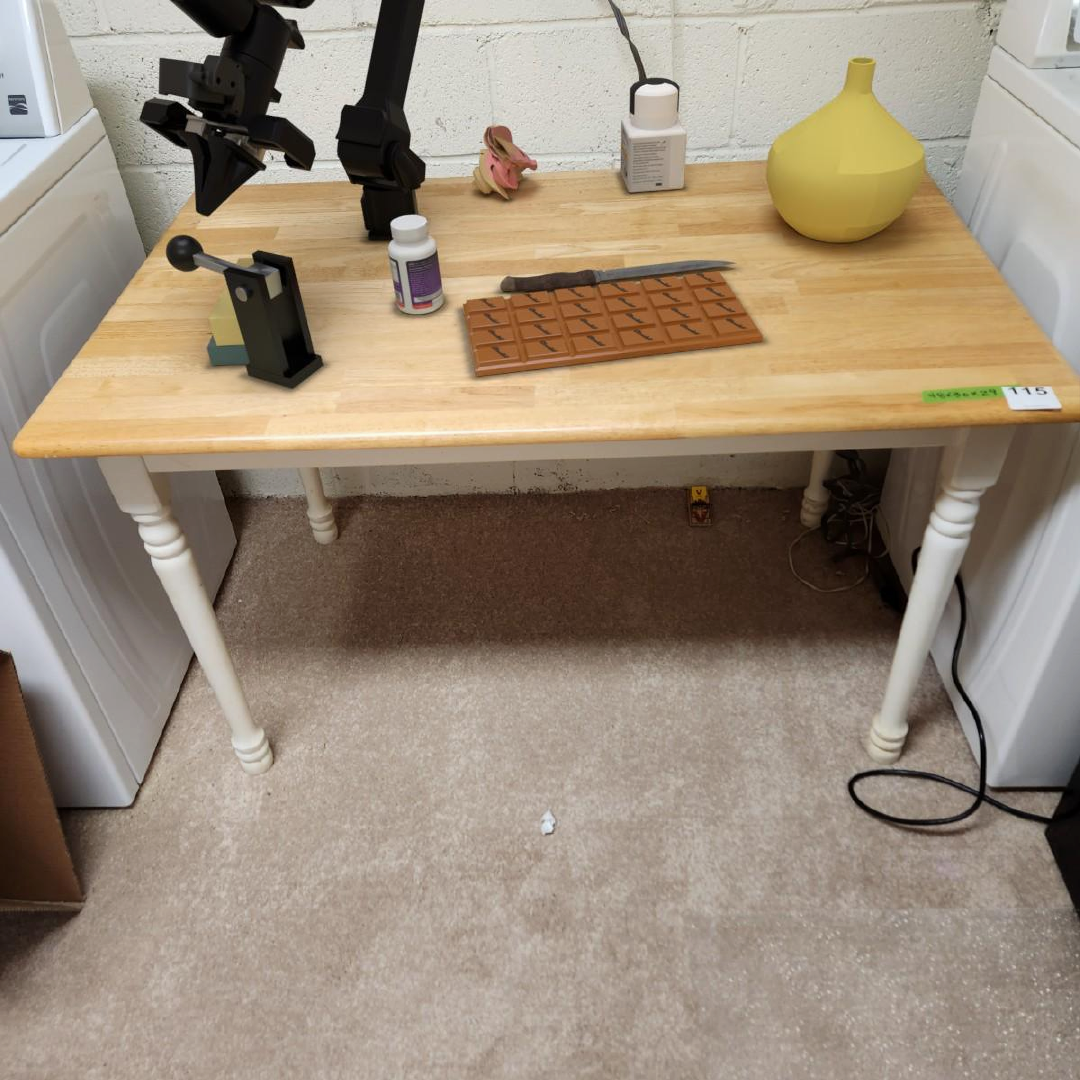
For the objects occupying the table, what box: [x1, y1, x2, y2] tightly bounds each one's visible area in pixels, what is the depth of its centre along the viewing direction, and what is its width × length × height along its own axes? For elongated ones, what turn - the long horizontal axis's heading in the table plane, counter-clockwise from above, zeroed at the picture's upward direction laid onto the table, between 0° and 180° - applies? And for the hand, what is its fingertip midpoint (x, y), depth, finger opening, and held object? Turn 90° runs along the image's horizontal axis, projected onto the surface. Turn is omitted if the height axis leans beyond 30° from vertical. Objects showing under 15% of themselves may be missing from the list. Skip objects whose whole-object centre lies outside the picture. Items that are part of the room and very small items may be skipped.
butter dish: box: [206, 334, 250, 367], centre depth 102 cm, size 5×14×2 cm, turn 1°
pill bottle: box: [387, 214, 445, 315], centre depth 102 cm, size 5×5×10 cm
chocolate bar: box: [462, 270, 763, 377], centre depth 100 cm, size 14×30×1 cm, turn 99°
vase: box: [765, 56, 927, 243], centre depth 109 cm, size 18×18×19 cm
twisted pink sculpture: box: [471, 124, 539, 200], centre depth 128 cm, size 9×10×10 cm
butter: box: [207, 257, 254, 346], centre depth 100 cm, size 14×3×3 cm, turn 1°
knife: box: [500, 259, 737, 292], centre depth 108 cm, size 28×3×1 cm, turn 99°
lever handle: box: [165, 234, 282, 299], centre depth 91 cm, size 13×4×4 cm, turn 61°
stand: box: [223, 249, 324, 389], centre depth 92 cm, size 6×6×12 cm
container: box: [620, 77, 688, 194], centre depth 125 cm, size 8×8×13 cm
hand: (202, 214), depth 93 cm, fingers closed
